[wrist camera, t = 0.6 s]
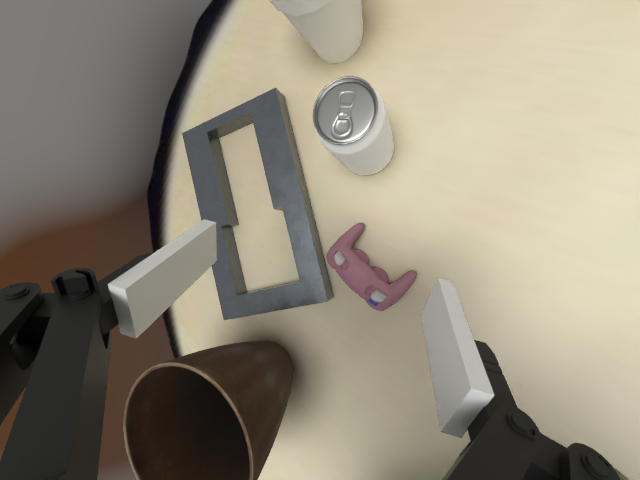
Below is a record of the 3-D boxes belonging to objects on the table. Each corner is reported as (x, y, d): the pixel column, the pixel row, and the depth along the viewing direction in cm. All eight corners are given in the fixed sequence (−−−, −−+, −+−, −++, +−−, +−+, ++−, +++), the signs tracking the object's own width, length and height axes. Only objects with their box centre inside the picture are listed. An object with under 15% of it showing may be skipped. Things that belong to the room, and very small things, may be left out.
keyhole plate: (333, 296, 36) (327, 301, 34) (234, 315, 42) (223, 320, 39) (284, 96, 38) (275, 87, 36) (195, 138, 43) (182, 133, 41)
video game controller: (344, 240, 37) (313, 262, 32) (361, 217, 35) (330, 236, 29) (399, 293, 35) (375, 325, 30) (423, 273, 32) (401, 304, 27)
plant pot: (210, 359, 43) (101, 428, 28) (264, 292, 40) (171, 329, 25) (275, 437, 40) (189, 562, 25) (340, 371, 37) (286, 471, 21)
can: (338, 173, 36) (303, 147, 24) (346, 122, 35) (313, 71, 24) (389, 178, 34) (375, 152, 22) (398, 124, 33) (389, 69, 22)
